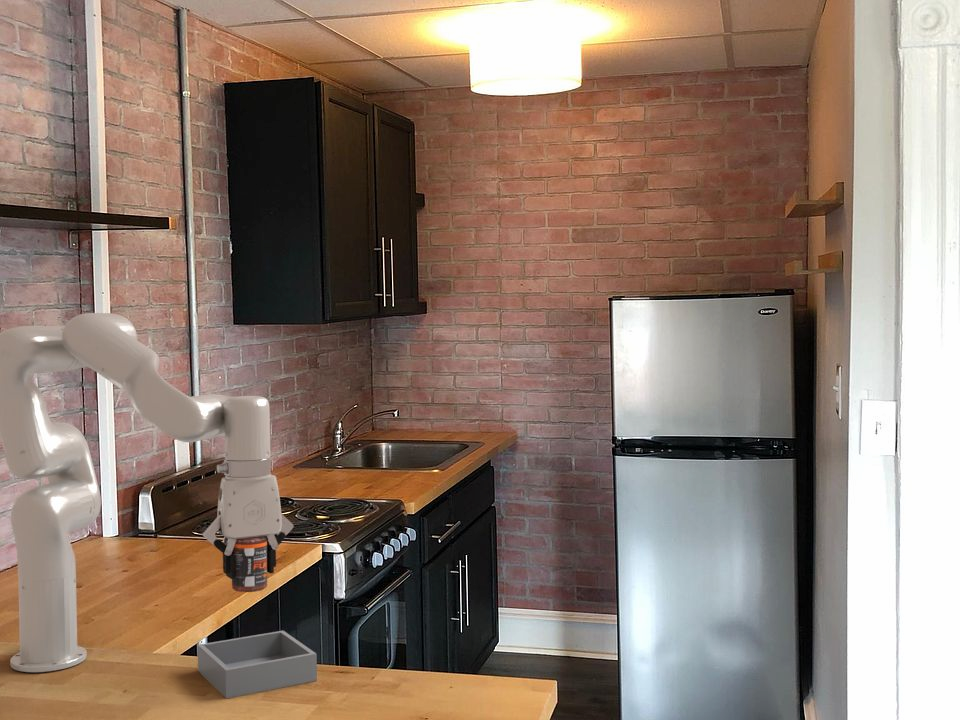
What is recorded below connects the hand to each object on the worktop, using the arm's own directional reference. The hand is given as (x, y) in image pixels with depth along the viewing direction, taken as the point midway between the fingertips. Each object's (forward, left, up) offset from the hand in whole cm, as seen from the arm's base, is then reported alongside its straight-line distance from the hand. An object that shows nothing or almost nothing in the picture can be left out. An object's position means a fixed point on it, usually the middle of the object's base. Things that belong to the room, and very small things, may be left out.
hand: (249, 573), depth 176 cm
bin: (0, +1, -18) cm, 18 cm away
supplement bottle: (0, 0, -3) cm, 3 cm away
